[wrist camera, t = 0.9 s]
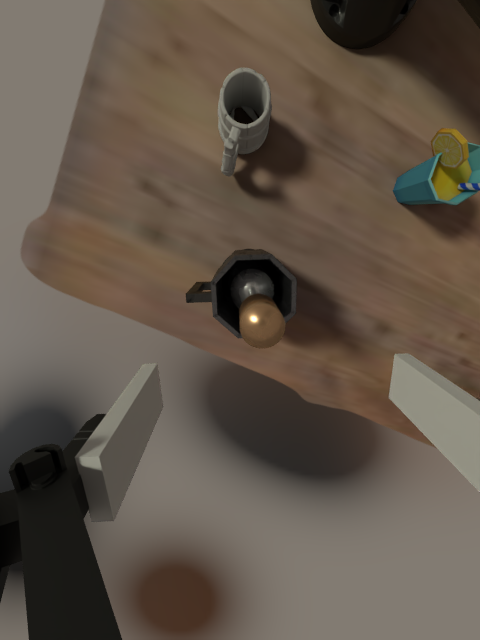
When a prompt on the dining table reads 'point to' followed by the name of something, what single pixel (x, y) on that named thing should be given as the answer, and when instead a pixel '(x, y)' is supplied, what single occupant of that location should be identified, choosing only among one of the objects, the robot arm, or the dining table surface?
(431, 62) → the dining table surface
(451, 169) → the cup
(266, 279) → the plunger
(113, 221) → the dining table surface
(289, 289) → the press body
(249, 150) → the mug
